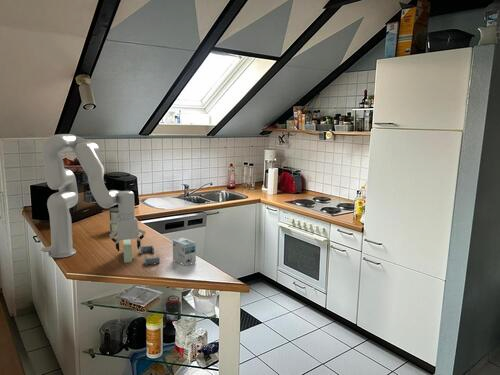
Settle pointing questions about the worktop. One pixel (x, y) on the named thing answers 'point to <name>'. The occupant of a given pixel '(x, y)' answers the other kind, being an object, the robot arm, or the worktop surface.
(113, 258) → the worktop surface
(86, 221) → the worktop surface
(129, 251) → the slat
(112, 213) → the coffee can
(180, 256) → the light bulb box
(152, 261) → the end caps
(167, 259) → the worktop surface
